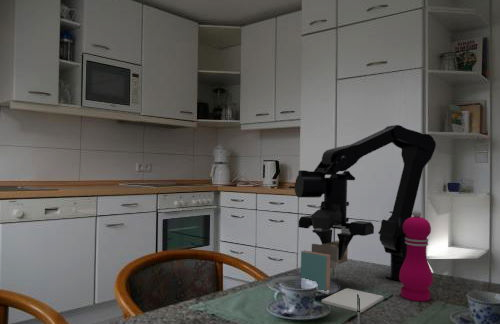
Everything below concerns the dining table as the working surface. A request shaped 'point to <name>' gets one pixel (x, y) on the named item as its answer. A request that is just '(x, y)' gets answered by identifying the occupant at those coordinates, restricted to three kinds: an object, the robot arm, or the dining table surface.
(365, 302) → the mat
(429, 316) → the dining table surface
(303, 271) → the tile
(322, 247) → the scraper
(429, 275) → the pepper mill
